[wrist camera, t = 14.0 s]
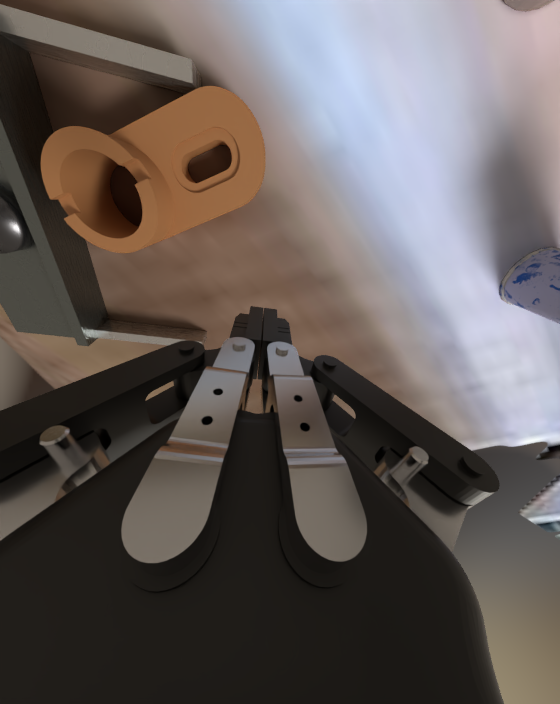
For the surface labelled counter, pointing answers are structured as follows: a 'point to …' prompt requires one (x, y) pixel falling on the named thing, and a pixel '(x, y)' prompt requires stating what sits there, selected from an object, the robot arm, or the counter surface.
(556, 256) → the aerosol can
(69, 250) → the deck mount
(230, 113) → the bracket
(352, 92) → the counter surface
